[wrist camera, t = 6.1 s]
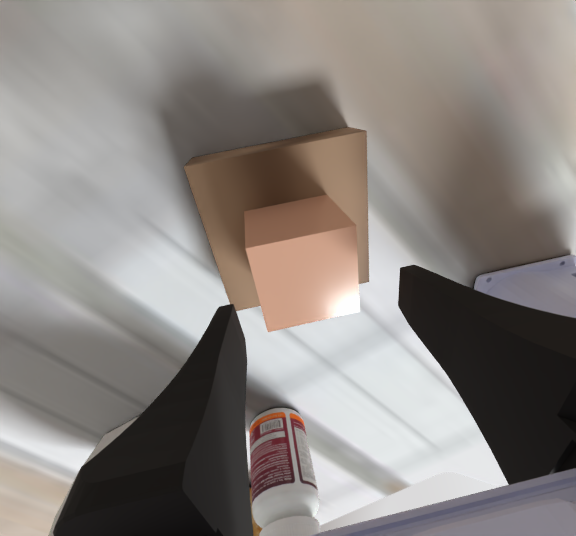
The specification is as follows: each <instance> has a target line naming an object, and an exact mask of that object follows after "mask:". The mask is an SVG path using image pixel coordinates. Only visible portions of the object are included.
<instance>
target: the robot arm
mask: <svg viewBox="0 0 576 536" xmlns="http://www.w3.org/2000/svg"><path fill="white" fill-rule="evenodd" d="M575 265H576V256H574V255H568V256H563V257H559V258H554V259H550V260H545V261H541V262H536V263H532V264H527V265H523V266H518V267H514V268H509V269H505V270H500V271H496V272H491V273H487V274H482V275H480V276H478V277H477V278H476V281H475V285H474V289H472V288H469V287H467V286H464V285H462V284H459V283H457V282H454V281H452V280H450V279H447V278H445V277H443V276H440V275H438V274H436V273H433V272H431V271H429V270H426V269H424V268H421V267H419V266H416V265H411V266H406V267H401V268H400V281H399V301H398V306H399V308H400V309H401V311H402V313H403V315H404V317H405V318H406V320H407V322H408V324H409V325H410V326H411V328H412V329H413V330H414V332H415V333H416V334H417V336H418V337H419V338H420V340H421V341H422V342H423V344H424V345H425V346H426V347H427V349H428V350H429V351H430V353H431V354H432V355H433V356H434V358H435V359H436V360H437V362H438V363H439V364H440V366H441V367H442V368H443V370H444V371H445V372H446V374H447V375H448V377H449V378H450V380H451V382H452V383H453V385H454V386H455V388H456V390H457V391H458V393H459V394H460V396H461V398H462V399H463V401H464V403H465V404H466V406H467V408H468V410H469V411H470V413H471V415H472V416H473V418H474V420H475V421H476V423H477V425H478V427H479V429H480V431H481V432H482V434H483V436H484V438H485V440H486V441H487V443H488V445H489V447H490V449H491V451H492V453H493V455H494V456H495V458H496V460H497V462H498V464H499V466H500V468H501V470H502V472H503V474H504V476H505V478H506V480H507V482H508V484H509V485H507V486H503V487H499V488H495V489H491V490H487V491H483V492H479V493H475V494H471V495H468V496H463V497H459V498H455V499H452V500H448V501H444V502H440V503H436V504H432V505H428V506H424V507H420V508H416V509H412V510H408V511H404V512H400V513H396V514H392V515H388V516H384V517H380V518H376V519H372V520H369V521H364V522H361V523H357V524H353V525H349V526H345V527H341V528H337V529H333V530H329V531H325V532H321V533H317V534H313V535H309V536H576V266H575ZM246 376H247V355H246V343H245V337H244V334H243V331H242V328H241V325H240V322H239V319H238V316H237V313H236V310H235V307H234V304H230V305H225V306H221V307H219V308H218V309H217V311H216V313H215V315H214V317H213V318H212V320H211V322H210V324H209V326H208V328H207V329H206V331H205V333H204V335H203V336H202V338H201V340H200V341H199V343H198V345H197V346H196V348H195V349H194V351H193V352H192V354H191V355H190V357H189V358H188V360H187V361H186V363H185V364H184V366H183V367H182V368H181V370H180V371H179V372H178V374H177V375H176V376H175V378H174V379H173V380H172V381H171V383H170V384H169V385H168V386H167V387H166V388H165V390H164V391H163V392H162V393H161V394H160V395H159V396H158V397H157V398H156V399H155V400H154V402H153V403H152V404H151V405H150V406H149V407H148V408H147V409H146V410H145V411H144V412H143V413H142V414H141V415H140V416H139V417H138V418H137V419H136V420H135V421H134V422H133V423H132V424H131V425H130V426H129V427H128V428H126V429H125V430H124V431H123V432H122V433H121V434H120V435H119V436H118V437H117V438H116V439H114V440H113V441H112V442H111V443H110V444H109V445H107V446H106V447H105V448H104V449H103V450H101V451H100V452H99V453H98V454H97V455H95V456H94V457H93V458H92V459H91V460H90V461H88V462H87V463H86V464H85V465H83V466H82V467H81V469H80V471H79V473H78V475H77V477H76V479H75V481H74V483H73V486H72V488H71V490H70V492H69V495H68V497H67V499H66V502H65V504H64V506H63V509H62V511H61V513H60V516H59V518H58V520H57V522H56V525H55V527H54V530H53V535H54V536H254V535H253V524H252V514H251V502H250V490H249V478H248V464H247V449H246V432H245V401H246Z"/></svg>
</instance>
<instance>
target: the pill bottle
mask: <svg viewBox="0 0 576 536" xmlns="http://www.w3.org/2000/svg"><path fill="white" fill-rule="evenodd" d="M250 459H251V490H252V513H253V518H254V520H255V522H256V523H257V525H258V526H260V527H261V528H263V529H262V530H261V532H260V534H259V536H309V535H313V534H317V533H321V532H320V525H319V522H318V520H317V519H315V518H313V517H314V516H315V515H316V513H317V511H318V508H319V496H318V490H317V485H316V480H315V476H314V471H313V466H312V461H311V456H310V451H309V446H308V441H307V436H306V431H305V426H304V422H303V419H302V417H301V415H300V414H299V413H297V412H296V411H294V410H292V409H288V408H274V409H270V410H267V411H265V412H263V413H261V414H259V415H258V416H257V417H256V418H255V419H254V420H253V421H252V423H251V425H250Z"/></svg>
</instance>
